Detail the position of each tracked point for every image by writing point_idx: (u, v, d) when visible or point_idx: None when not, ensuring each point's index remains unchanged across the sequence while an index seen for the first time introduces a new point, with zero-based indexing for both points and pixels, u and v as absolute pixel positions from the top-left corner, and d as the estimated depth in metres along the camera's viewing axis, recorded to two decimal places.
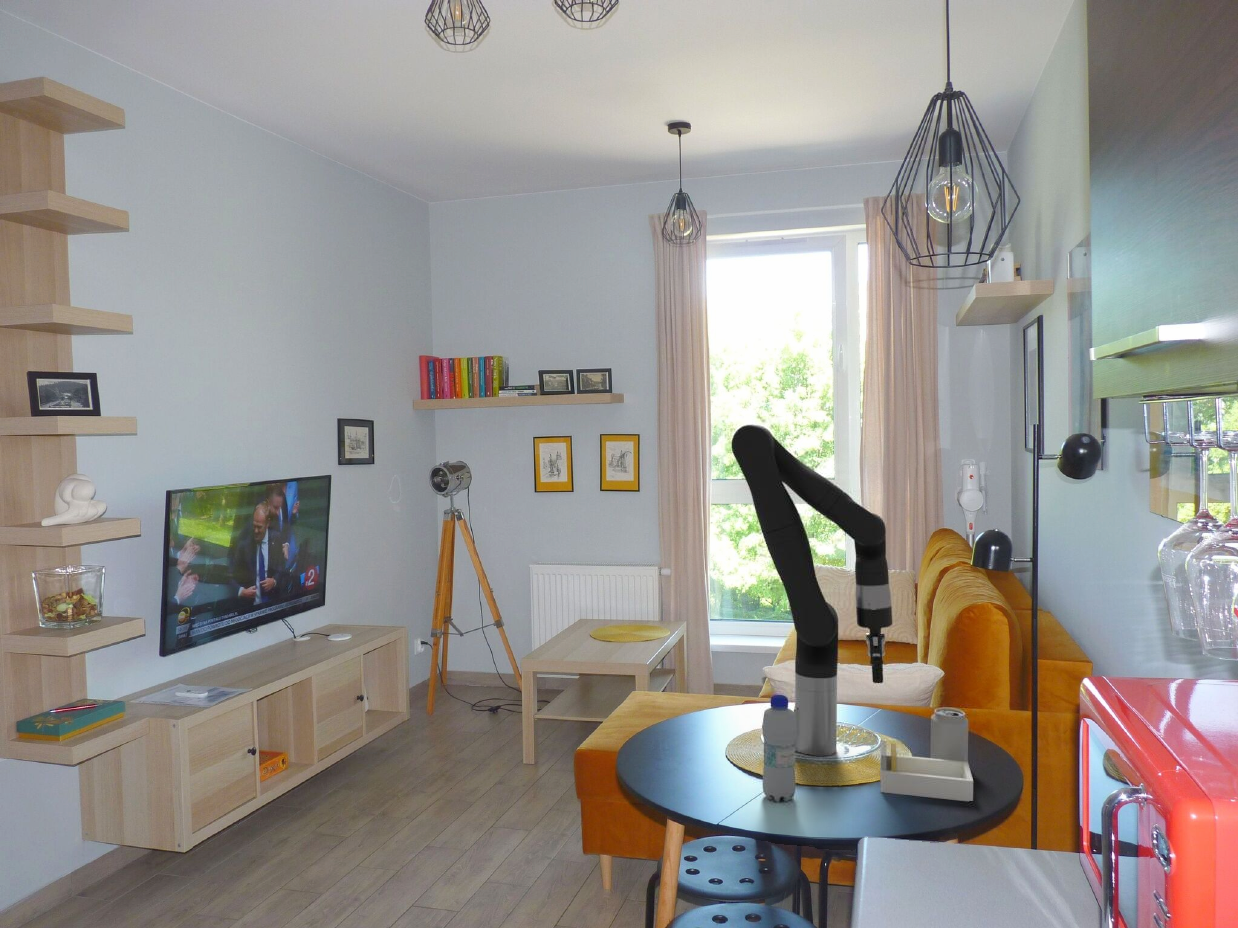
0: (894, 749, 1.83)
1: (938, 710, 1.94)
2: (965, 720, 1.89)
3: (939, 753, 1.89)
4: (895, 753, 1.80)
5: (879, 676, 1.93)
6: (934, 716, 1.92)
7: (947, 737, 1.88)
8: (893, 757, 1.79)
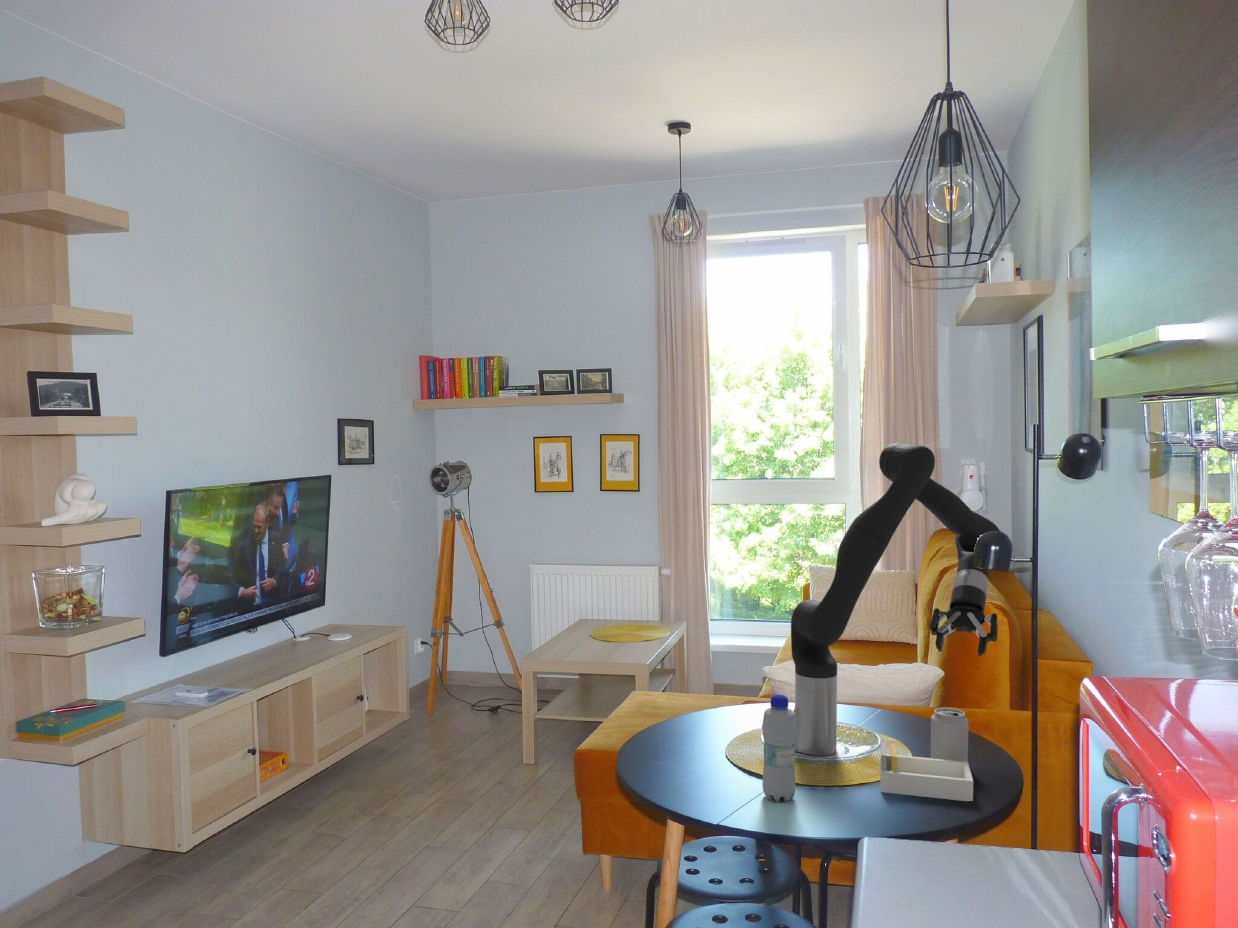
0: (894, 749, 1.83)
1: (938, 710, 1.94)
2: (965, 720, 1.89)
3: (939, 753, 1.89)
4: (895, 753, 1.80)
5: (985, 649, 2.00)
6: (934, 716, 1.92)
7: (947, 737, 1.88)
8: (893, 757, 1.79)
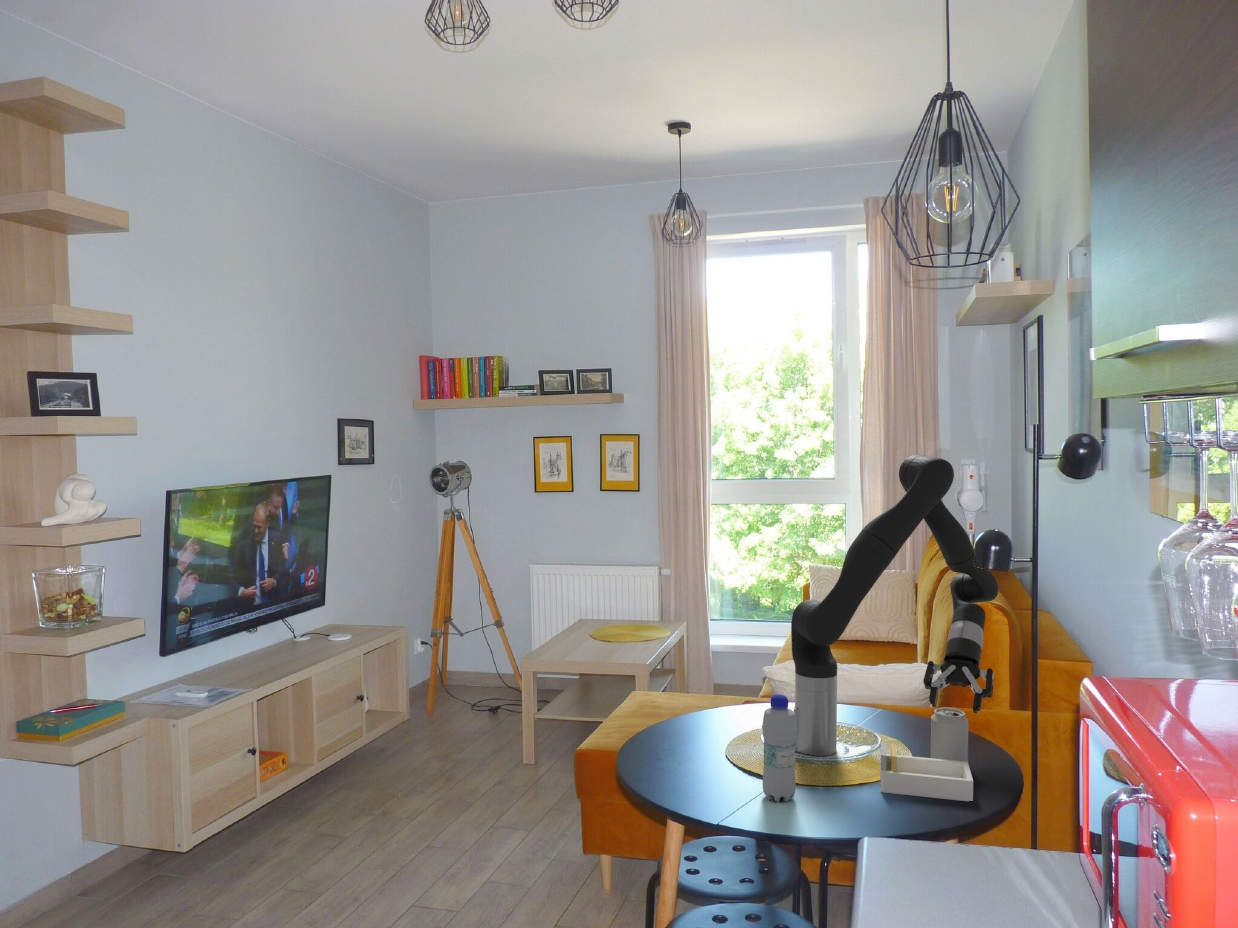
0: (894, 749, 1.83)
1: (938, 710, 1.94)
2: (965, 720, 1.89)
3: (939, 753, 1.89)
4: (895, 753, 1.80)
5: (980, 706, 1.94)
6: (934, 716, 1.92)
7: (947, 737, 1.88)
8: (893, 757, 1.79)
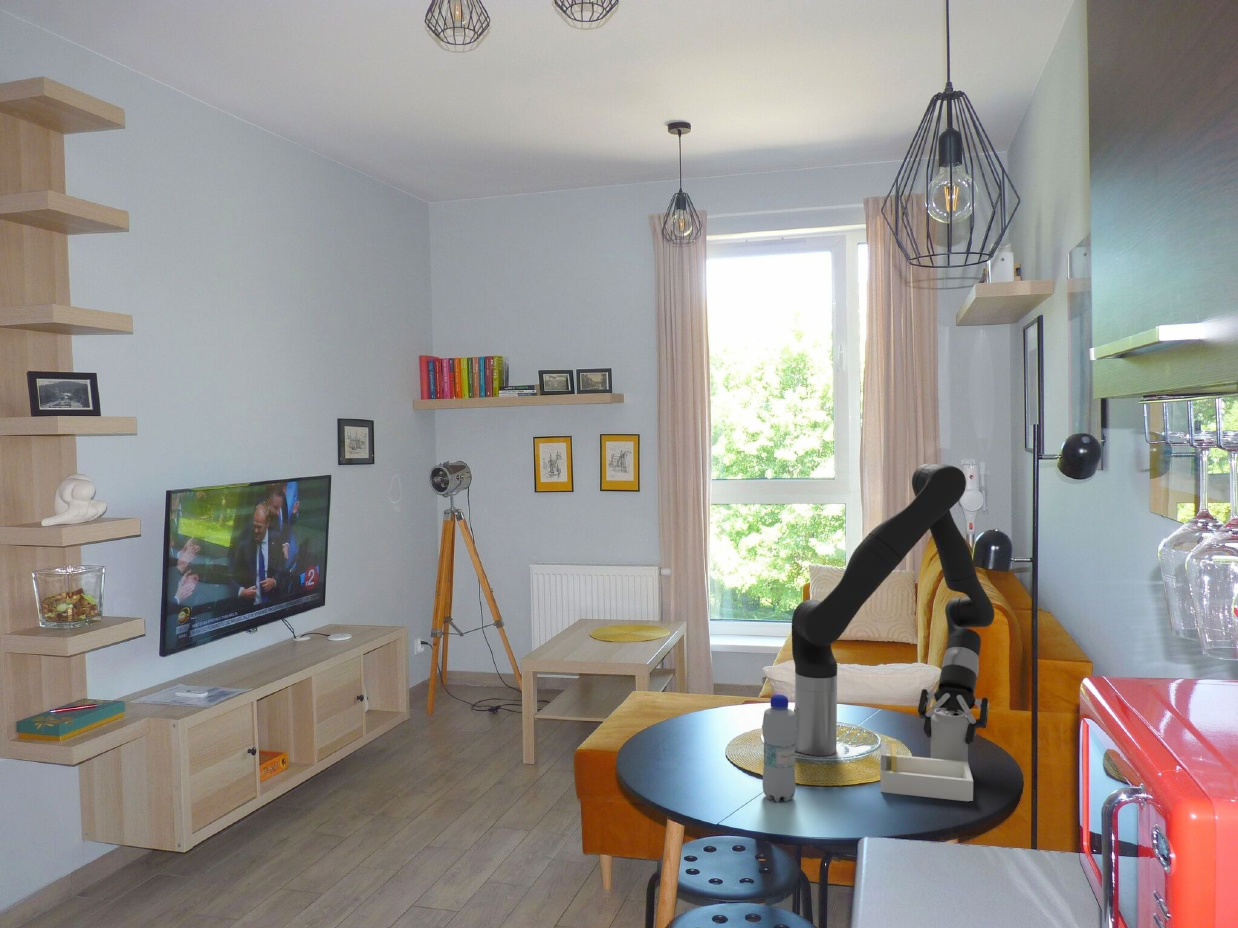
0: (894, 749, 1.83)
1: (938, 710, 1.94)
2: (965, 720, 1.89)
3: (939, 753, 1.89)
4: (895, 753, 1.80)
5: (974, 737, 1.89)
6: (934, 716, 1.92)
7: (947, 737, 1.88)
8: (893, 757, 1.79)
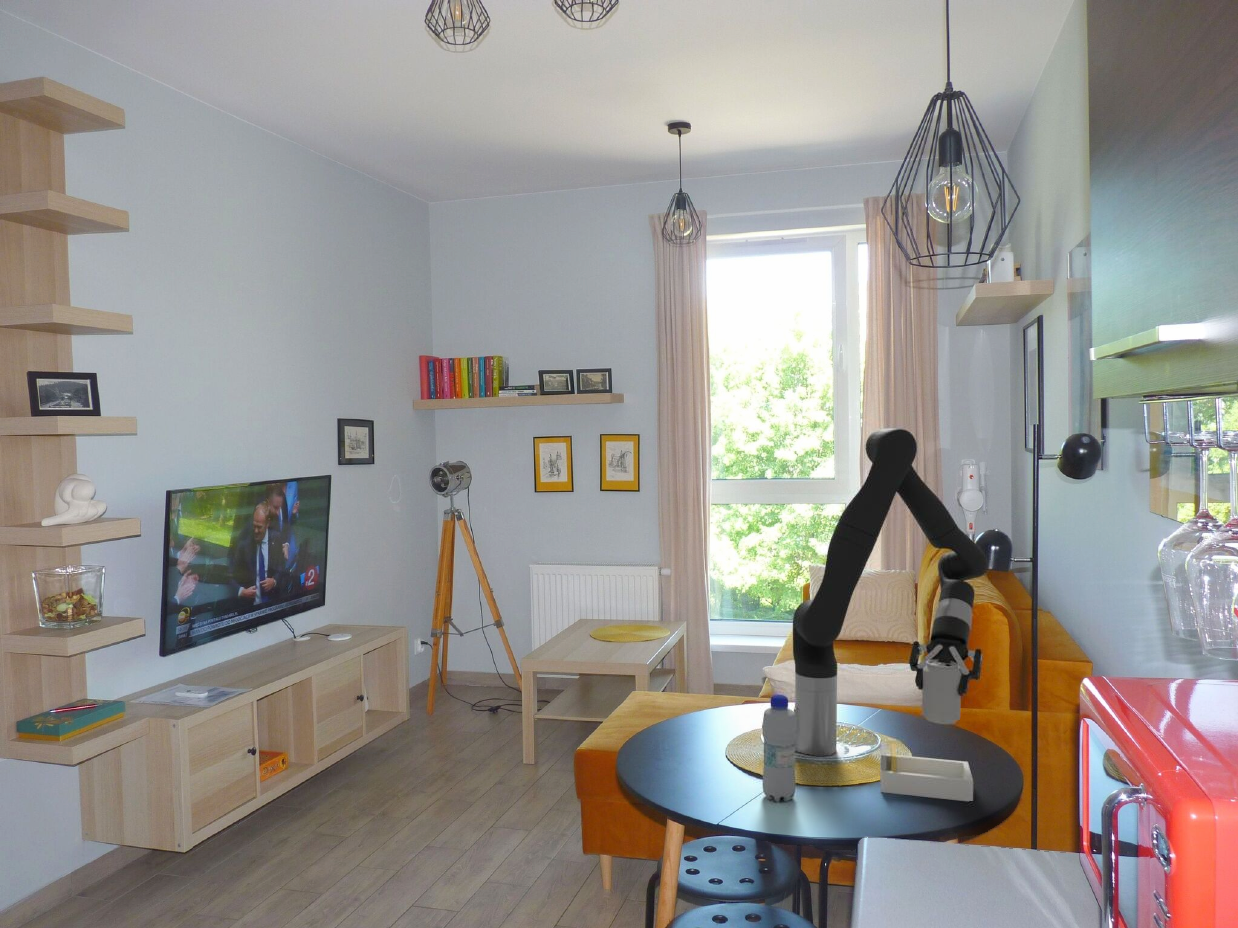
0: (894, 749, 1.83)
1: (930, 661, 1.88)
2: (958, 671, 1.84)
3: (931, 705, 1.84)
4: (895, 753, 1.80)
5: (967, 688, 1.83)
6: (926, 667, 1.86)
7: (939, 688, 1.83)
8: (893, 757, 1.79)
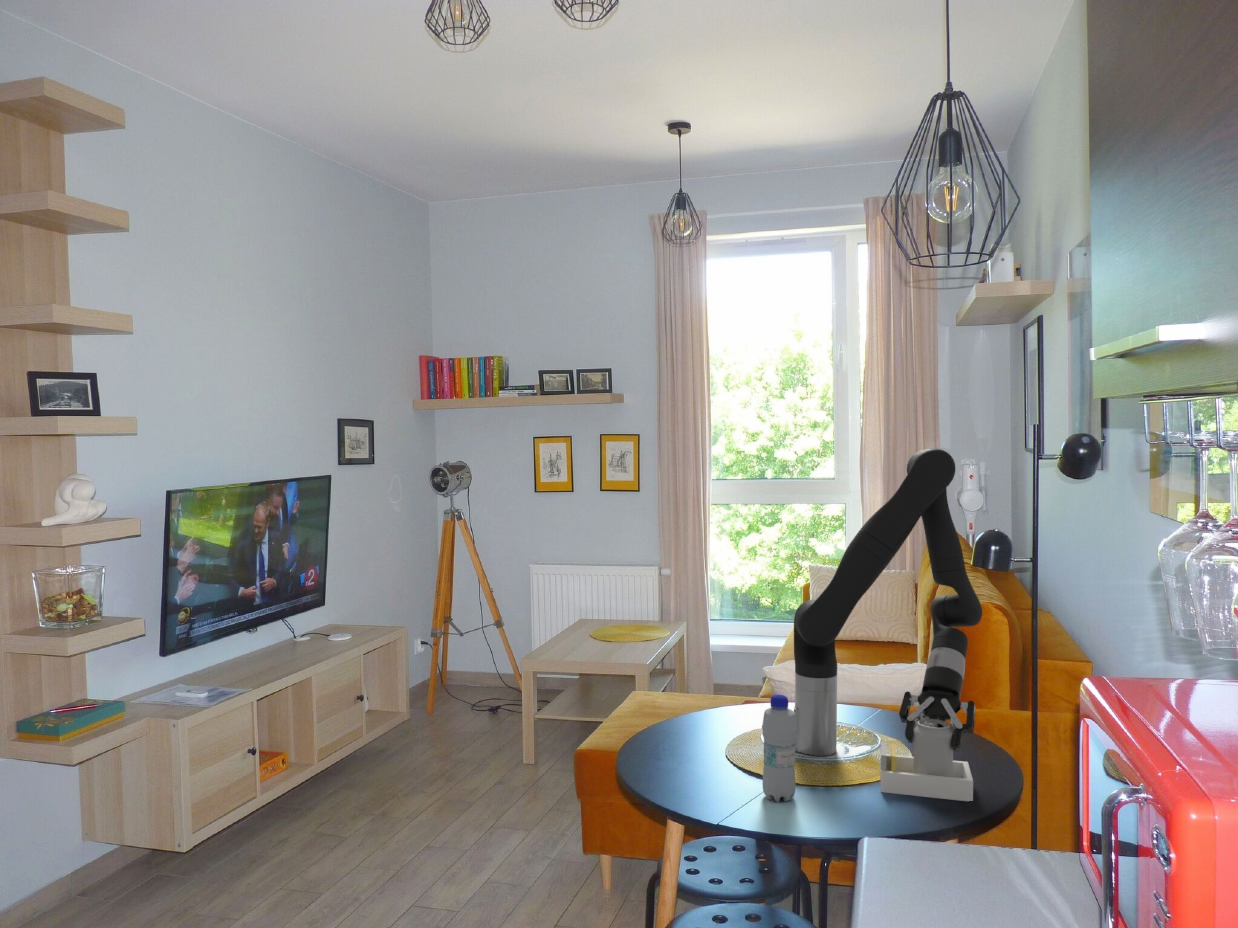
0: (894, 749, 1.83)
1: (921, 721, 1.82)
2: (950, 732, 1.78)
3: (922, 767, 1.78)
4: (895, 753, 1.80)
5: (960, 743, 1.78)
6: (917, 728, 1.80)
7: (930, 750, 1.77)
8: (893, 757, 1.79)
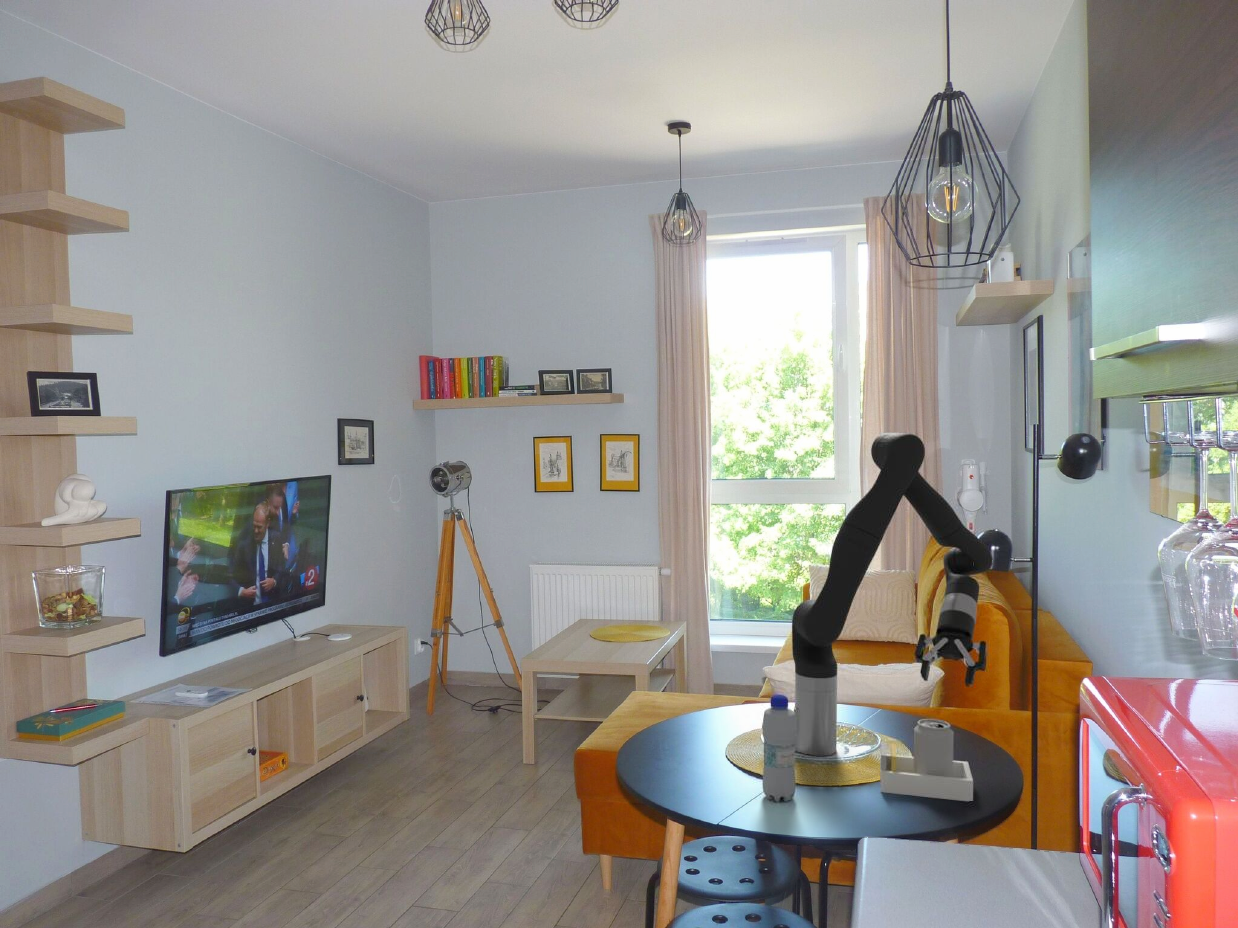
0: (894, 749, 1.83)
1: (922, 721, 1.82)
2: (950, 732, 1.78)
3: (922, 768, 1.78)
4: (895, 753, 1.80)
5: (973, 679, 1.88)
6: (917, 728, 1.80)
7: (931, 750, 1.77)
8: (893, 757, 1.79)
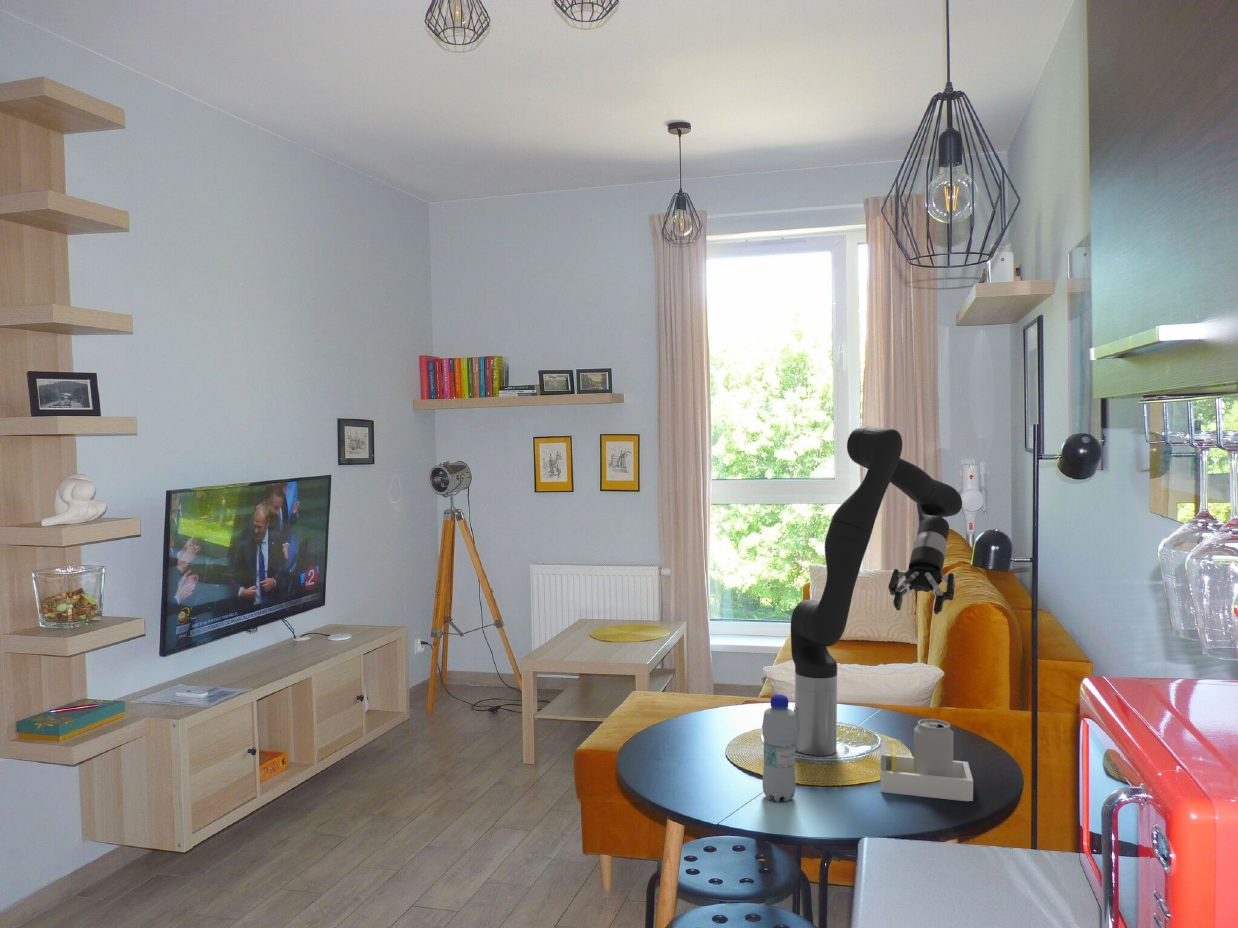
0: (894, 749, 1.83)
1: (922, 721, 1.82)
2: (950, 732, 1.78)
3: (922, 768, 1.78)
4: (895, 753, 1.80)
5: (941, 607, 2.05)
6: (917, 728, 1.80)
7: (931, 751, 1.77)
8: (893, 757, 1.79)
